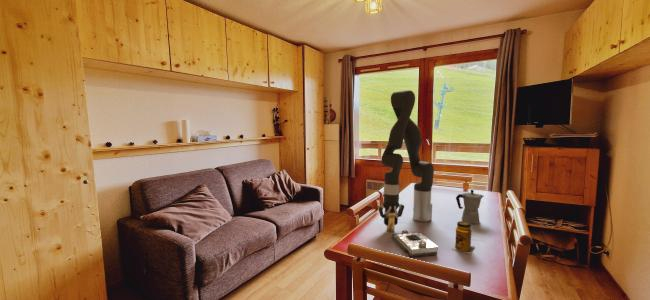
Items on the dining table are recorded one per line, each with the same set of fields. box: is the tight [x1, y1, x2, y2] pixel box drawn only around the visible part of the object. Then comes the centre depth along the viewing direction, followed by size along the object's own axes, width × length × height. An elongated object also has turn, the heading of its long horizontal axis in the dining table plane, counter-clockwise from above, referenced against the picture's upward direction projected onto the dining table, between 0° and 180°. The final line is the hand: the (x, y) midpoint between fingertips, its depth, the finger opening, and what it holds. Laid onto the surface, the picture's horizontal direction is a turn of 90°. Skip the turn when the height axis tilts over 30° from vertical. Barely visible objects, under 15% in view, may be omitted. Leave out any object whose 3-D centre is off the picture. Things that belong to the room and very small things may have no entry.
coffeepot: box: [455, 189, 484, 225], centre depth 152 cm, size 15×9×18 cm, turn 92°
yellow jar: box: [452, 220, 475, 255], centre depth 120 cm, size 7×8×12 cm
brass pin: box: [386, 212, 396, 233], centre depth 140 cm, size 5×5×10 cm
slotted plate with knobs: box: [391, 229, 439, 258], centre depth 123 cm, size 12×20×6 cm, turn 10°
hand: (390, 224), depth 140 cm, fingers open, 4 cm apart
